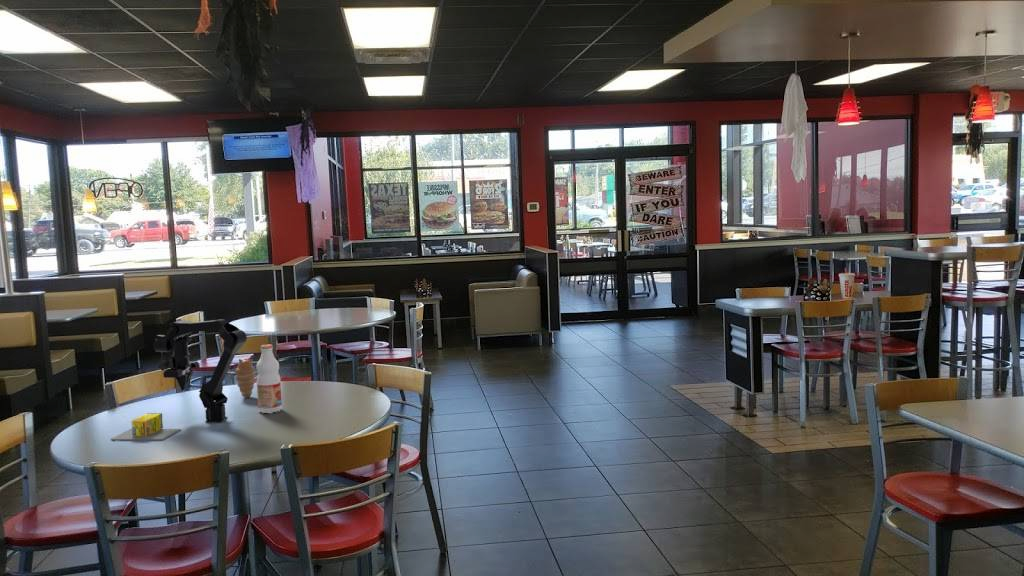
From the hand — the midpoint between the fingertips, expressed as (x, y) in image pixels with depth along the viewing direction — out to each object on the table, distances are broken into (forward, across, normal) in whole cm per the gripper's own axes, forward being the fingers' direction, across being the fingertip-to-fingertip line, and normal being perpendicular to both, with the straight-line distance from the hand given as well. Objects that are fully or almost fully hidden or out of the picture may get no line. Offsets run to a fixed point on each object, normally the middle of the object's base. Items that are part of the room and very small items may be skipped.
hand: (183, 390), depth 307 cm
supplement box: (+8, +14, -4) cm, 17 cm away
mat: (+12, +22, -4) cm, 25 cm away
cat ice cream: (+12, -35, +11) cm, 39 cm away
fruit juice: (+12, -12, +31) cm, 35 cm away
